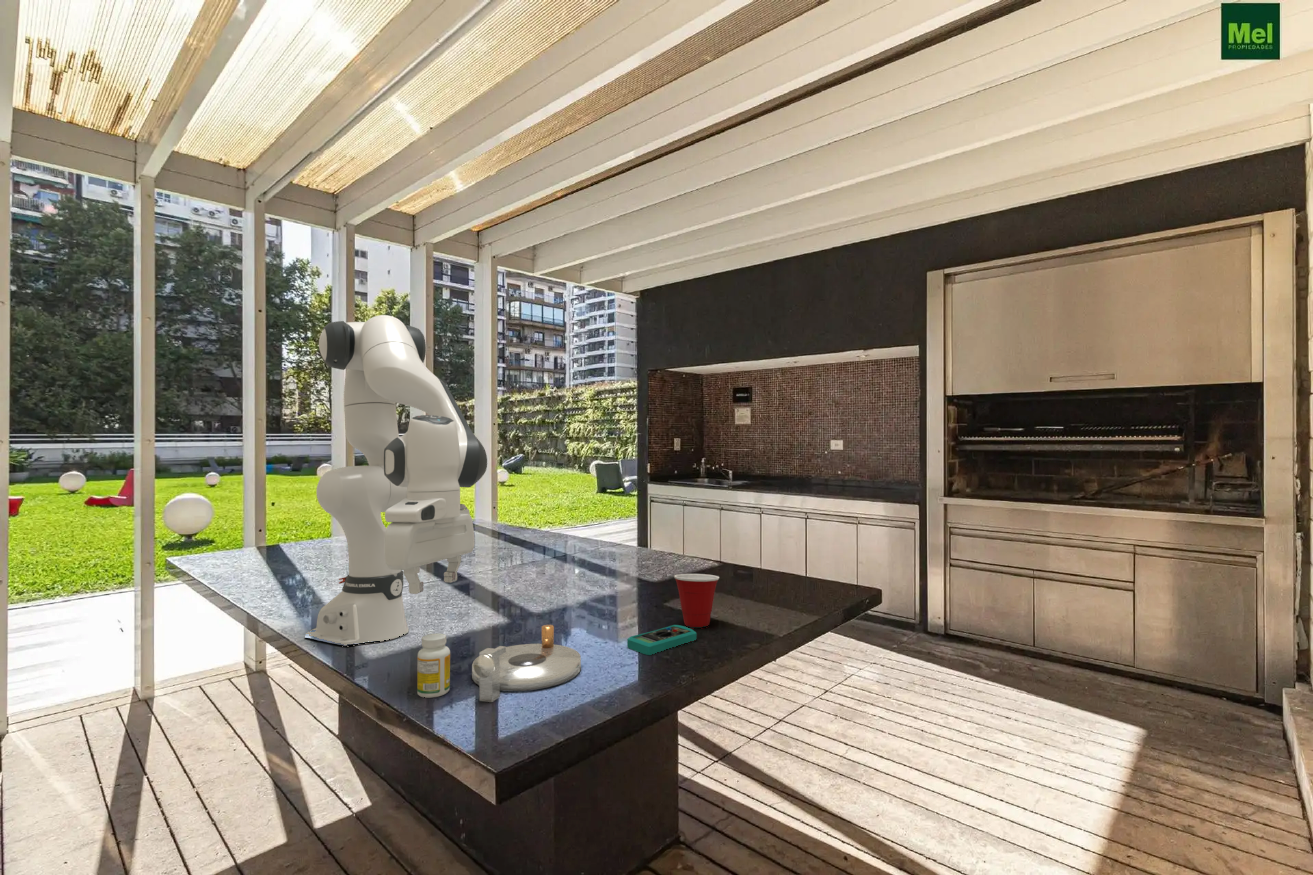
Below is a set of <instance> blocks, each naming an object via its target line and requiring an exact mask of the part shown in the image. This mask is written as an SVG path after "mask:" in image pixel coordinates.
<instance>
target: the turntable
mask: <svg viewBox="0 0 1313 875" xmlns="http://www.w3.org/2000/svg"><path fill="white" fill-rule="evenodd" d="M554 628H555V626H554V625H553V624H544V625H541V643H526V644H525V643H524V644H516V645H509V646H506V652H505V653H504V654H502V655H500V691H503V692H507V691H508V692H524V691H533V690H540V689H545V688H550V687H554V686H557V685H561V684H564V683H566V682H568V681H570V680H571V679H573V678H575V677H576V676H578V674H580V671H581V668H582V661H581V660H582V658H581V654H580V652H579V651H578V650H576V649H574V648H572V647H570V646H565V645H560V644H555V642H554V641H555V635H554V634H555V633H554V632H555V629H554ZM474 661H475V659H474V660H473V661H472V664H471V679H472V680H473V682H474V683H475V684H477V685H478V686H480V676H478V675H477V674H476V672H475V670H474Z"/></svg>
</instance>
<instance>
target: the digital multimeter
mask: <svg viewBox="0 0 1313 875" xmlns="http://www.w3.org/2000/svg"><path fill="white" fill-rule="evenodd" d="M697 635H698V634H697V632H696V631H695V630H694V629H693V628H688V627H686V626H685V625H679V624H673V625H669V626H666V627H662V628H659V629H655V630H651V631H648V632H644V633H639V634H635V635H632V636H629V637H628V638H627V640H626V641H627V642H626V643H627V644H626V646H627V648H628V649H629V650H631V649H632V650H631V651H634V652H637V653H639V652H640V653H639V654H643V655H646V656H651V655H652V654H653V655H655V653H656V654H658V653H657V652H659V653H661V651H662V652H665V651H667V650H666V649H668V650H670V649H669V648H671V649H673V648H672V647H674V648H677V647H676V646H678V645H681V644H684V643H688V642H690V641H694V640H696V639H697ZM688 644H689V643H688ZM681 646H682V645H681ZM678 647H679V646H678ZM664 650H665V651H664ZM653 655H652V656H653Z"/></svg>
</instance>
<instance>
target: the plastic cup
mask: <svg viewBox="0 0 1313 875" xmlns="http://www.w3.org/2000/svg"><path fill="white" fill-rule="evenodd" d="M673 577H674V579H675V581H676V585H677V586H676V587H677V589H678V596H679V602H680V608H681V612H682V616H683V617H682V618H683V623H684V626H685V625H686V626H690V627H703V626H708V625H710V622H711V616H712V615H711V614H712V612H713V604H714V599H715V598H714V597H715V592H716V587H717V583H718V581H719V579H720V576H719V575H713V574H705V573H681V574H675V575H673ZM686 626H685V627H686ZM708 627H709V626H708Z"/></svg>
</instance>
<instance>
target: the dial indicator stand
mask: <svg viewBox="0 0 1313 875" xmlns="http://www.w3.org/2000/svg"><path fill="white" fill-rule="evenodd" d="M506 647H507V646H505V645H504V646H503V645H499V646H497V647H495V648H491V647H490V648H489V647H487V648H485V649H483V650H482V651H479V655H478V657H476V658H475V659H474V660H475V661H474V660H473V662H474V670H475V672H476V674H477V675H478V676H480V685H479V702H487V703H488V702H489V703H493V702H495V701H496V700H497V699H499V698H500V697H501V690H500V655H502V654H504V653H505V652H506Z"/></svg>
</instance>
